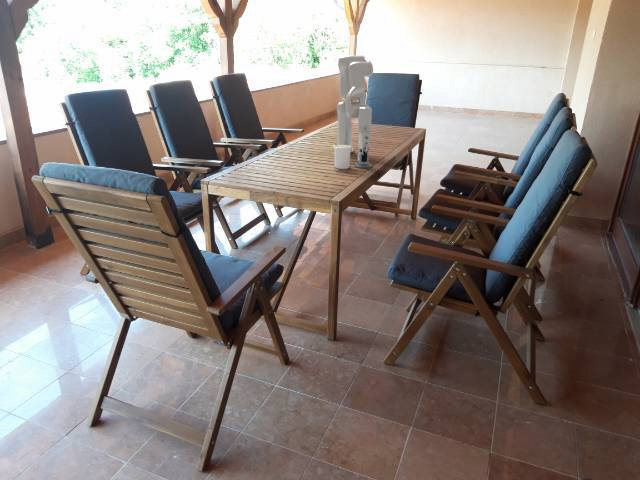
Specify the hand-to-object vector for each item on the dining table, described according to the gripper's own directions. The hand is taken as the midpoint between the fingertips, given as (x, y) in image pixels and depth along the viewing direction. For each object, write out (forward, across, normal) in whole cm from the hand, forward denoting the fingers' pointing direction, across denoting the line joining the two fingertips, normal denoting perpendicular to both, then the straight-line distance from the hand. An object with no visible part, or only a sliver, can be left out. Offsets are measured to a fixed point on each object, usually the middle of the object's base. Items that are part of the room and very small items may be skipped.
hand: (362, 160), depth 279 cm
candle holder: (+3, -2, +13) cm, 14 cm away
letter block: (+1, 0, 0) cm, 1 cm away
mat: (+3, 0, 0) cm, 3 cm away
